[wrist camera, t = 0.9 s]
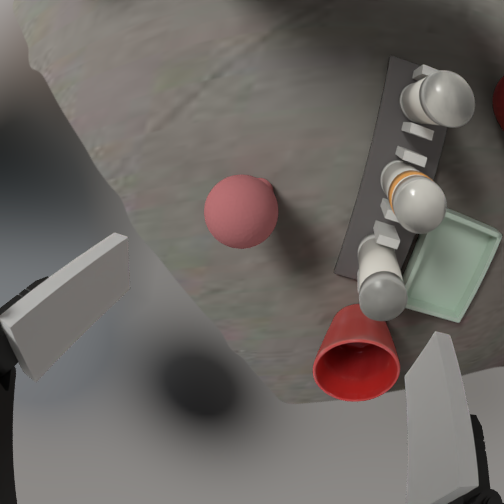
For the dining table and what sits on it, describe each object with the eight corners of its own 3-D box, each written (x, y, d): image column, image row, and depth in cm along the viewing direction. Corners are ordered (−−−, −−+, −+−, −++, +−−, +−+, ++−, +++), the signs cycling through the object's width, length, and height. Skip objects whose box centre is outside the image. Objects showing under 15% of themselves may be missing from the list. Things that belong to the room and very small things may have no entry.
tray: (431, 201, 32) (436, 207, 29) (494, 227, 30) (502, 235, 28) (394, 294, 38) (396, 305, 36) (454, 312, 36) (459, 322, 34)
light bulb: (303, 185, 36) (285, 216, 25) (271, 229, 39) (241, 275, 29) (254, 150, 35) (214, 167, 25) (225, 197, 39) (179, 230, 29)
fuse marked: (385, 153, 30) (403, 170, 21) (422, 166, 29) (454, 189, 20) (374, 192, 32) (386, 224, 23) (411, 204, 32) (435, 241, 22)
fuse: (364, 228, 34) (369, 272, 25) (398, 239, 34) (415, 286, 24) (352, 261, 37) (352, 314, 27) (386, 271, 36) (395, 326, 26)
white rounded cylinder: (402, 78, 26) (428, 61, 17) (440, 92, 25) (478, 84, 16) (395, 115, 28) (418, 115, 19) (432, 129, 27) (468, 136, 18)
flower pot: (318, 350, 45) (308, 398, 37) (324, 289, 40) (316, 335, 32) (385, 356, 42) (387, 405, 34) (401, 295, 38) (410, 343, 29)
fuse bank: (389, 56, 26) (397, 46, 21) (454, 81, 25) (471, 76, 20) (334, 269, 39) (331, 292, 34) (391, 286, 37) (395, 310, 33)
